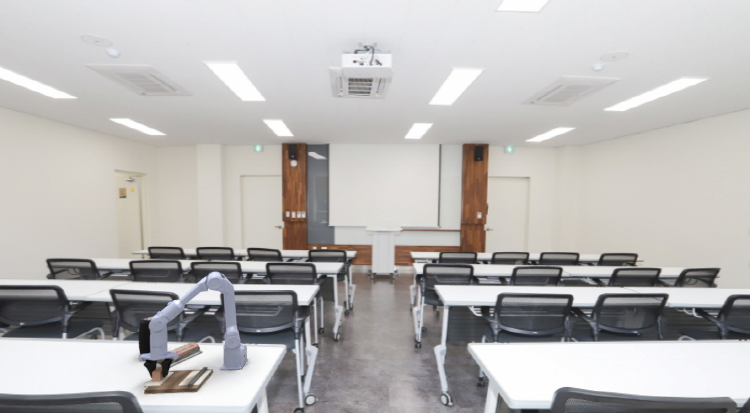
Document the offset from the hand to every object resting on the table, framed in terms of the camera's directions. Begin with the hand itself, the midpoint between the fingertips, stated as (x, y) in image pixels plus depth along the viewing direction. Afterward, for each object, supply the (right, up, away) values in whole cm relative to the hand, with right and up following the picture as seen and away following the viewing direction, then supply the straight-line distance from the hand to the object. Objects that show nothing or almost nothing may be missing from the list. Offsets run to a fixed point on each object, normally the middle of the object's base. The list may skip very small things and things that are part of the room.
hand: (159, 376), depth 120 cm
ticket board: (+8, -3, +1) cm, 9 cm away
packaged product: (-5, -3, +19) cm, 20 cm away
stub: (0, -1, 0) cm, 1 cm away
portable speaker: (-20, -3, +21) cm, 29 cm away
